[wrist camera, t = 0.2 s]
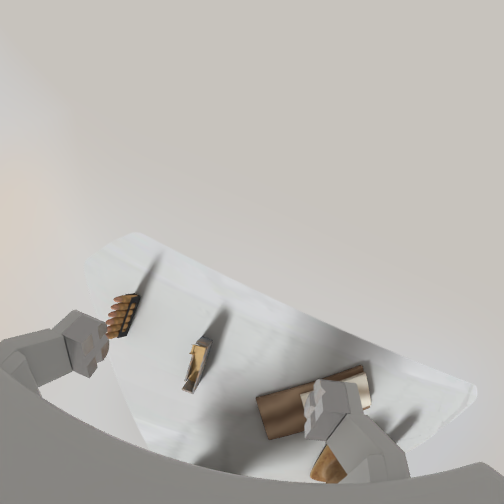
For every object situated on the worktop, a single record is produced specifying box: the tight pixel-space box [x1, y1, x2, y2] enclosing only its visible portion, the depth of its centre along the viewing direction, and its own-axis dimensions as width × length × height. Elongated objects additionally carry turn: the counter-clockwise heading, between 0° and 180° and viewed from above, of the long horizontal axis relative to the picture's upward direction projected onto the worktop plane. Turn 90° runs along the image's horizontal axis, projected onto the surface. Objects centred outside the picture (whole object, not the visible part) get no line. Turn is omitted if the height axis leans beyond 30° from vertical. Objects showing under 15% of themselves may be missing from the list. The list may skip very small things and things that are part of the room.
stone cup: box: [310, 445, 347, 484], centre depth 50 cm, size 15×12×15 cm
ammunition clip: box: [105, 293, 141, 339], centre depth 57 cm, size 11×2×12 cm, turn 157°
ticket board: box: [256, 365, 371, 440], centre depth 58 cm, size 12×26×3 cm, turn 105°
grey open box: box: [182, 337, 213, 394], centre depth 57 cm, size 11×3×10 cm, turn 162°
